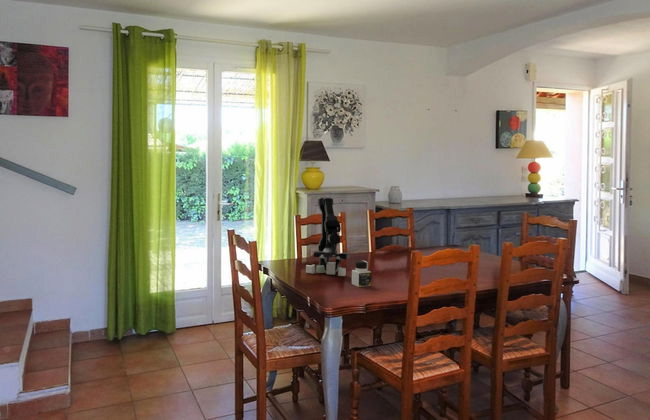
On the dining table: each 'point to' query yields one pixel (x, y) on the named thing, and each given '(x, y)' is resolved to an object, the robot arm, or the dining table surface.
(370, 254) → the dining table surface
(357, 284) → the medicine bottle
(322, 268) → the pale green curved bar
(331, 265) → the grey cube block
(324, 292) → the dining table surface
